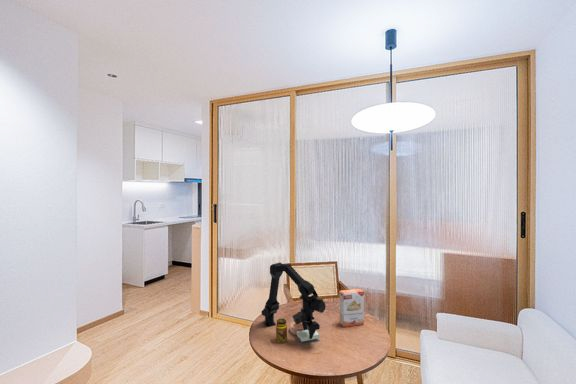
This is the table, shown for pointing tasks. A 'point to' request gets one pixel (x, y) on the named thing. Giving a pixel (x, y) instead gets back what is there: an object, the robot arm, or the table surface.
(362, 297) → the cracker box
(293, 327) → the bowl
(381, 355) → the table surface
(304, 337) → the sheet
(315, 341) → the mat
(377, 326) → the table surface
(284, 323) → the condiment
